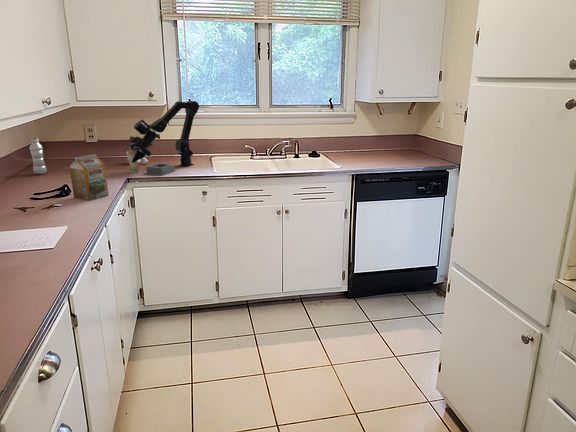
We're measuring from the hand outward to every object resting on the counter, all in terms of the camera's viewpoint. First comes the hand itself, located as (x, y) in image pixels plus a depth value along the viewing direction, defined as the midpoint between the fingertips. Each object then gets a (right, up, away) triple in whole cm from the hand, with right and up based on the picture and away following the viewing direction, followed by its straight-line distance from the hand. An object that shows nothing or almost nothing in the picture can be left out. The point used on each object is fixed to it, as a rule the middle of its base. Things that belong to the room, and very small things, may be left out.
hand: (130, 161), depth 254 cm
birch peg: (+1, -6, +3) cm, 7 cm away
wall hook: (-4, +2, +27) cm, 27 cm away
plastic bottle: (-50, -8, -2) cm, 51 cm away
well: (+16, -6, +3) cm, 18 cm away
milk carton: (-2, -22, -47) cm, 52 cm away
